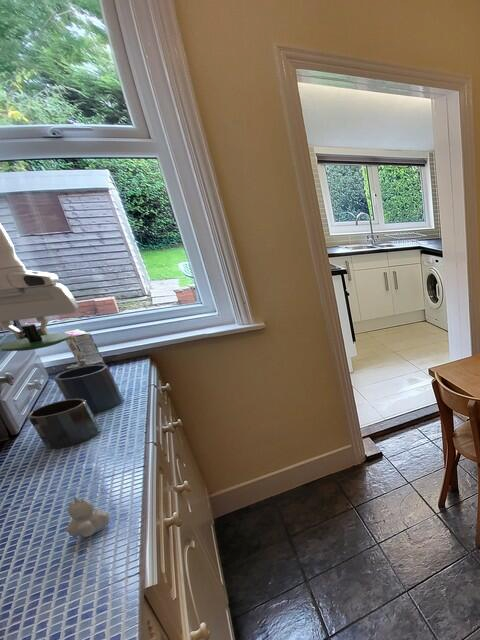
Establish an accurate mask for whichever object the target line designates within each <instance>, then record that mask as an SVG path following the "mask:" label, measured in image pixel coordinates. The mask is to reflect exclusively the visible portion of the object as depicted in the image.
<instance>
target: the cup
mask: <svg viewBox="0 0 480 640" xmlns="http://www.w3.org/2000/svg"><path fill="white" fill-rule="evenodd" d="M26 416H27V418H28V420H29V421H30V423H31V425H32V426H33V428H34V430H35V432H36V433H37V435H38V437H39V438H40V440H41V441H42V443H43V445H44V446H45V447H46V448H47V449H48V450H58V449H64V448H69V447H72V446H73V447H74V446H75V445H79V444H81V443H84V442H87V441H89V440H91V439H93V438H95V437H96V436H98V434H100V433H101V427H100V425H99V423H98V422H97V419H96V418H95V415H94V413H93V414H92V412H91V410H90V408H89V406H88V405H87V403H86V401H85V400H84V399H69V400H65V399H64V400H59V401H56V402H51V403H49V404H45V405H43V406H40V407H37V408H35V409H33V410H32V411H29V412H28V414H27V415H26Z"/></svg>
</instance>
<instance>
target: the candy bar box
mask: <svg viewBox="0 0 480 640" xmlns="http://www.w3.org/2000/svg"><path fill="white" fill-rule="evenodd" d="M62 333H67V334H70V335H71V338H70V339H68V340H65V342H66V344H67V346H68V348H69V350H70V352H71V353H72V355H73V357H74V359H75V361H76V364H79V363H80V362H81V361H80V360H82V359H86V360H85V361H86V362H87V363H91V362H96V361H100V360H101V361H104V364H105V365H106V363H105V359H104V358H103V356H102V355H101V353H100V351H99V348H98V346H97V344H96V343H95V341H94V339H93V336H92V334H91V333H90V332H87V331H84V330H83V329H72V330H68V331H63V332H62ZM106 366H107V365H106Z"/></svg>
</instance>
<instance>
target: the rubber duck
mask: <svg viewBox="0 0 480 640" xmlns="http://www.w3.org/2000/svg"><path fill="white" fill-rule="evenodd" d="M67 513H68V515H69V516H70V518H71V520H70V521H69V522H68V523H67V525H66V533H68V535H69V536H72V537H73V538H75V537H82V538H87V537H91V536H93V535H94V534H96V533H98V532H100V531H102V530H103V529H105V528H106V526H108V525H109V523H110V514H109V513H108V512H107V511H106V510H102V509H100V508H95V506H94V504H93V503H92V502H91V501H90V500H86V499H84V498H80V500H79V498H78V497H76V496H75V495H73V502H69V504H68V509H67Z"/></svg>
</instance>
